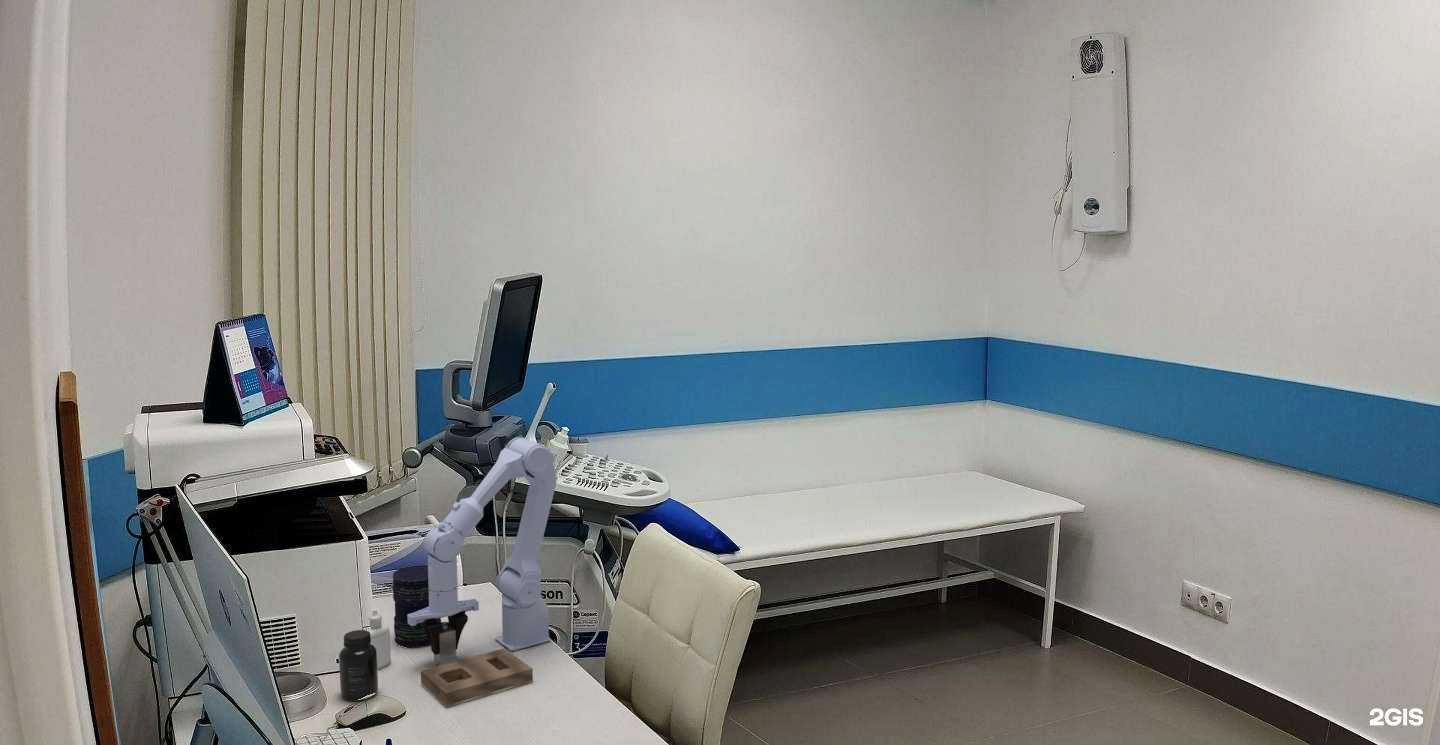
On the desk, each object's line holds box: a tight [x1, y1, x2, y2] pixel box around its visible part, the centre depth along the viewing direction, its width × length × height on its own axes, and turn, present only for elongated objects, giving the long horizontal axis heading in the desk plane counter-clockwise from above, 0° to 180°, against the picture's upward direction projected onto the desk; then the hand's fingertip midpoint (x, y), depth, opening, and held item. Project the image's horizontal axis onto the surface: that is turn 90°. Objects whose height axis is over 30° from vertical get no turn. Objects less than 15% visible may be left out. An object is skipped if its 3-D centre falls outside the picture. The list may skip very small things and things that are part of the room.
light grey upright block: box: [433, 621, 457, 666], centre depth 212 cm, size 3×3×8 cm
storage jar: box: [392, 564, 442, 649], centre depth 222 cm, size 10×10×15 cm
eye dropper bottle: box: [368, 608, 392, 671], centre depth 209 cm, size 4×6×12 cm
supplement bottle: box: [338, 629, 379, 702], centre depth 197 cm, size 7×7×12 cm
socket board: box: [420, 647, 534, 709], centre depth 203 cm, size 18×12×3 cm, turn 128°
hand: (444, 650), depth 212 cm, fingers closed on light grey upright block, 3 cm apart
